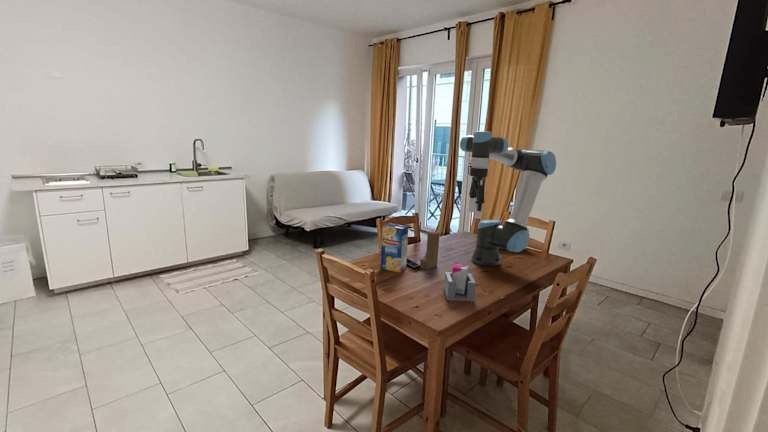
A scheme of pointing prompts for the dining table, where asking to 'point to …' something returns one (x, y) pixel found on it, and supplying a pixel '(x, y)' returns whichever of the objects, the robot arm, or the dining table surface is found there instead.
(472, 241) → the dining table surface
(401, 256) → the beverage box
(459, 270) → the supplement box
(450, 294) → the socket block
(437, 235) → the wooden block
